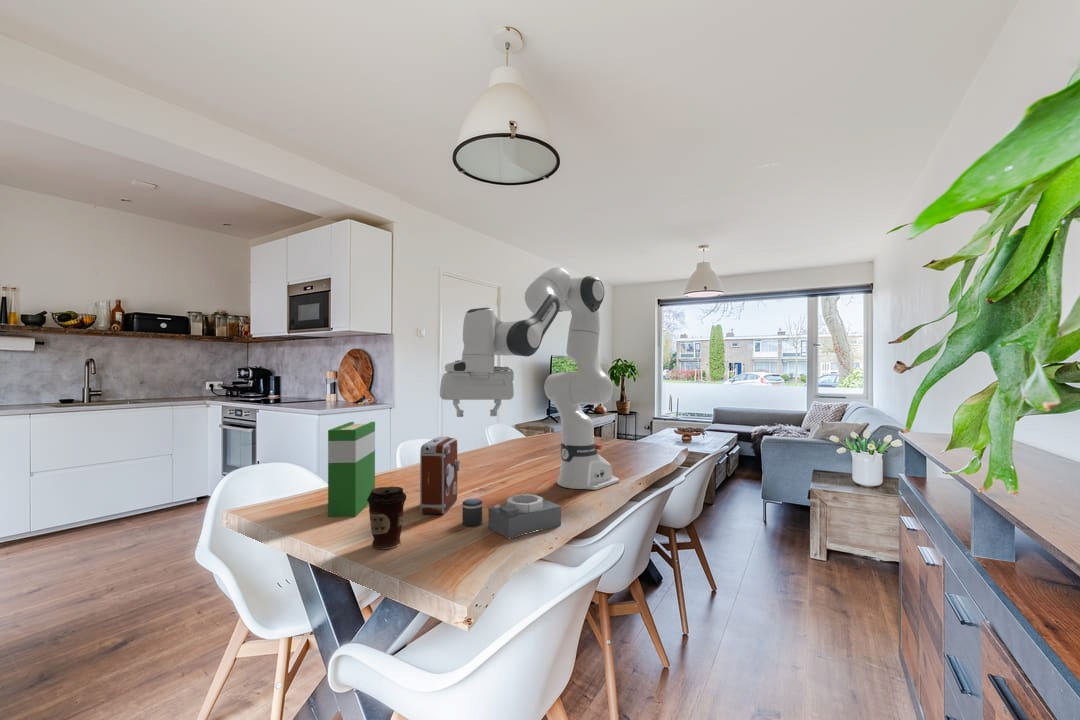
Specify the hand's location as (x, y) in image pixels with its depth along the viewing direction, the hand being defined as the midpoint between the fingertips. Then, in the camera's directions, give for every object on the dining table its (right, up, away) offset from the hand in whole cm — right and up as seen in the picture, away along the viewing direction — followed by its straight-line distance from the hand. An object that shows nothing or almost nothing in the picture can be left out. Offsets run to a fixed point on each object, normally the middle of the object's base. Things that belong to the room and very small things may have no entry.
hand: (476, 416), depth 126 cm
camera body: (+13, -28, -6) cm, 31 cm away
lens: (-1, -28, -4) cm, 28 cm away
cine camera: (-12, -28, +11) cm, 32 cm away
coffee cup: (-19, -28, -18) cm, 38 cm away
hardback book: (-38, -28, +10) cm, 48 cm away
